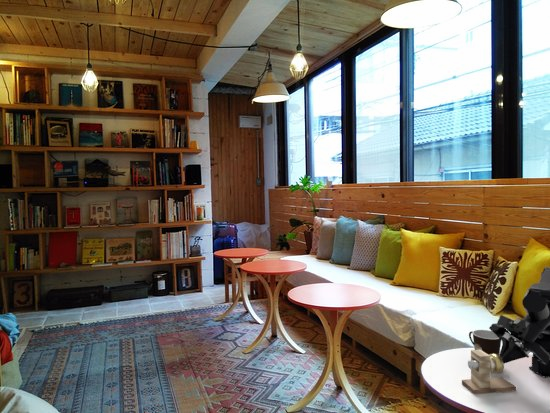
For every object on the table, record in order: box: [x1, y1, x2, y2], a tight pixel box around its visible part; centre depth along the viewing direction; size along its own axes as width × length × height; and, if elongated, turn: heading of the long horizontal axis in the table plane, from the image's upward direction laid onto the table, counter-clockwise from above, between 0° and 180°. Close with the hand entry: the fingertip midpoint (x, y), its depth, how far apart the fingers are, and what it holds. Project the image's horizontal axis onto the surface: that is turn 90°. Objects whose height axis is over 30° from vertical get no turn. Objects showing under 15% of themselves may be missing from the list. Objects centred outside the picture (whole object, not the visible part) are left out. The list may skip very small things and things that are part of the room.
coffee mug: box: [468, 329, 502, 355], centre depth 130 cm, size 12×9×10 cm
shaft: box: [467, 354, 505, 374], centre depth 113 cm, size 9×5×5 cm, turn 96°
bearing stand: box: [461, 349, 517, 395], centre depth 113 cm, size 13×6×10 cm, turn 96°
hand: (499, 363), depth 114 cm, fingers closed, pressing on shaft
